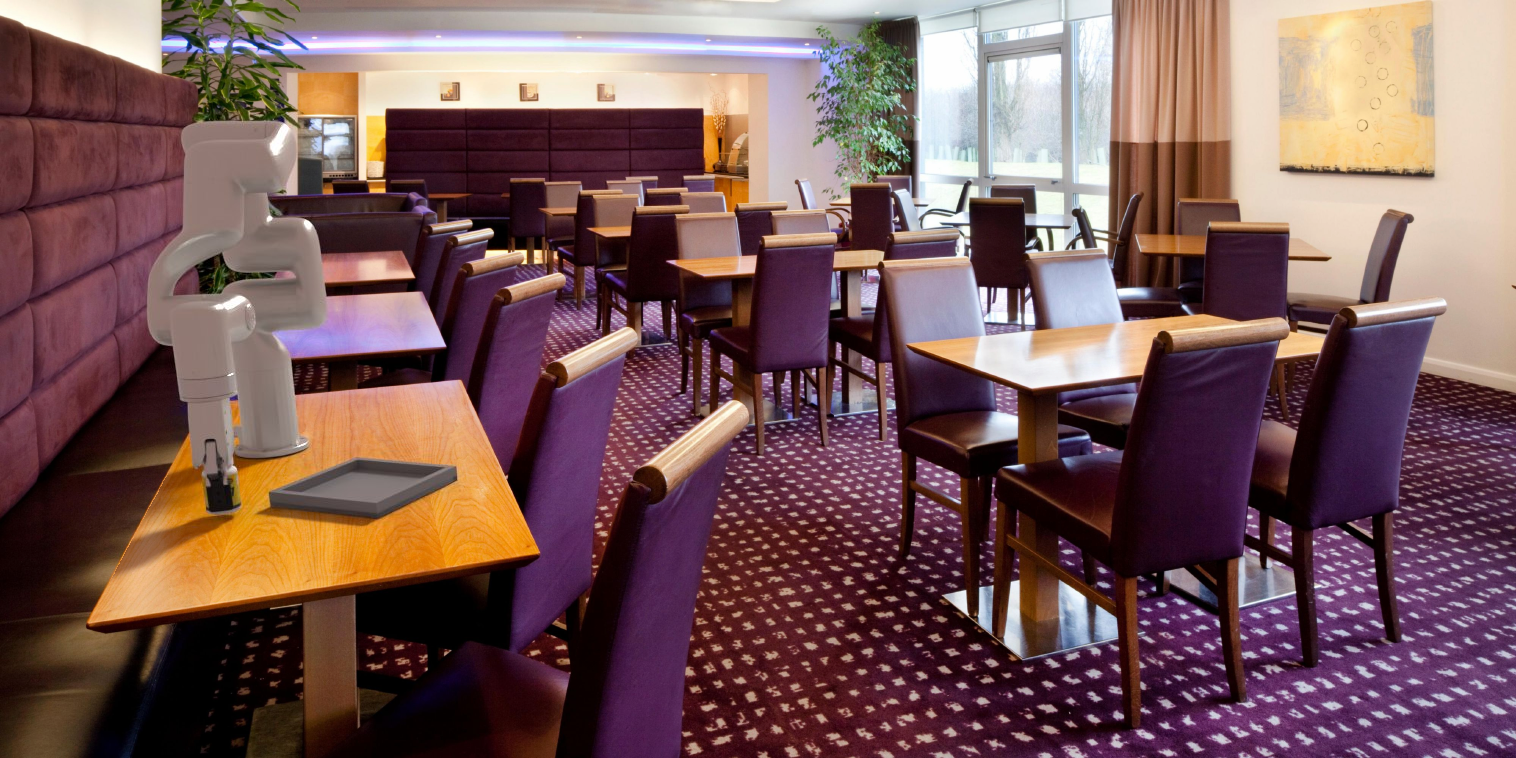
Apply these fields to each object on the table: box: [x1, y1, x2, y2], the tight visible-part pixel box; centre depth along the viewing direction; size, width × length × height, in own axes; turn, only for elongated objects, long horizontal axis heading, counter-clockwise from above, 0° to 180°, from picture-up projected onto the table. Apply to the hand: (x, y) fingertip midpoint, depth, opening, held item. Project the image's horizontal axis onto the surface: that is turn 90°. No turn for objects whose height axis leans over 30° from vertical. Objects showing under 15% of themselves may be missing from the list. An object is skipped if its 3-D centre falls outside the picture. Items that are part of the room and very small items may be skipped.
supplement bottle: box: [201, 455, 242, 516], centre depth 157 cm, size 5×5×8 cm
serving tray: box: [268, 456, 458, 519], centre depth 168 cm, size 20×20×2 cm
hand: (223, 503), depth 158 cm, fingers closed on supplement bottle, 4 cm apart
